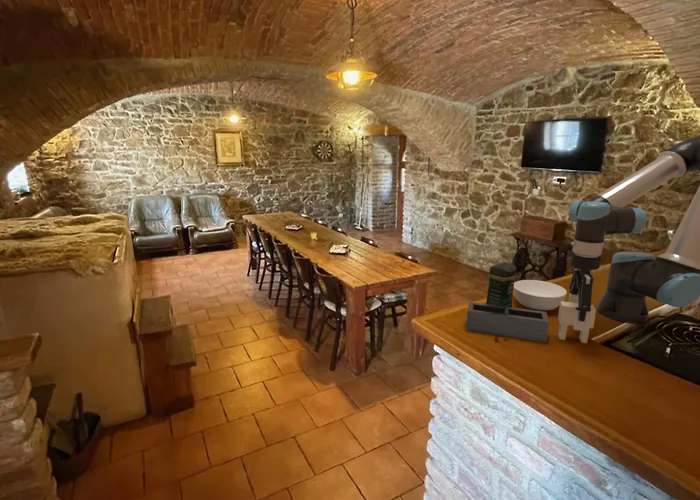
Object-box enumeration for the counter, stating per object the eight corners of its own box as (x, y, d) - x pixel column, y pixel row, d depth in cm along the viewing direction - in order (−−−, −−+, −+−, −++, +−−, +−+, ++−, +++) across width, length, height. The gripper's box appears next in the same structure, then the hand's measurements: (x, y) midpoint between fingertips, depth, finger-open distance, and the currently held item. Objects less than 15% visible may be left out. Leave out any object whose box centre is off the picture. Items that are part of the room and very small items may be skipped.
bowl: (562, 320, 133) (565, 301, 131) (507, 309, 142) (509, 291, 141) (565, 302, 148) (568, 285, 146) (515, 293, 157) (517, 277, 156)
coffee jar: (502, 319, 134) (507, 269, 129) (481, 312, 140) (486, 264, 135) (515, 311, 140) (520, 263, 135) (495, 305, 146) (499, 259, 141)
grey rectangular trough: (543, 331, 125) (546, 311, 123) (546, 342, 118) (549, 322, 116) (467, 320, 133) (469, 301, 131) (465, 330, 126) (467, 311, 124)
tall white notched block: (587, 338, 120) (593, 305, 117) (589, 344, 117) (596, 310, 114) (555, 333, 123) (560, 301, 120) (557, 339, 120) (562, 305, 117)
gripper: (565, 243, 125) (556, 305, 130) (579, 264, 103) (567, 336, 109) (592, 245, 122) (581, 308, 128) (612, 267, 101) (598, 341, 106)
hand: (575, 321), depth 118 cm, fingers open, 11 cm apart
